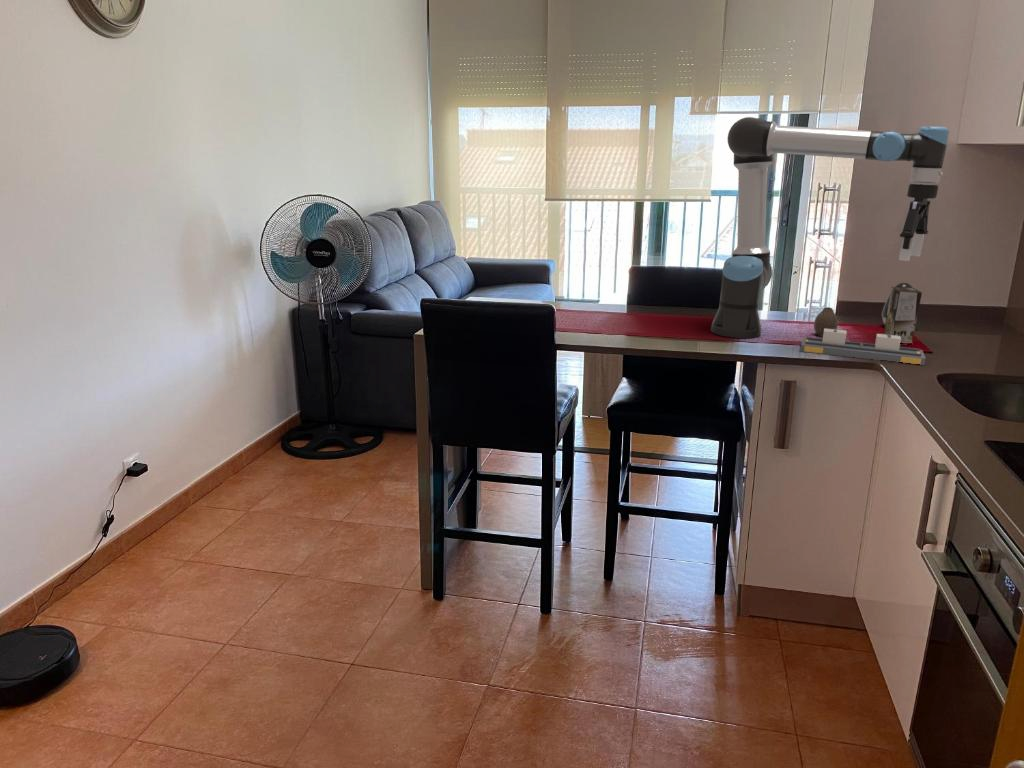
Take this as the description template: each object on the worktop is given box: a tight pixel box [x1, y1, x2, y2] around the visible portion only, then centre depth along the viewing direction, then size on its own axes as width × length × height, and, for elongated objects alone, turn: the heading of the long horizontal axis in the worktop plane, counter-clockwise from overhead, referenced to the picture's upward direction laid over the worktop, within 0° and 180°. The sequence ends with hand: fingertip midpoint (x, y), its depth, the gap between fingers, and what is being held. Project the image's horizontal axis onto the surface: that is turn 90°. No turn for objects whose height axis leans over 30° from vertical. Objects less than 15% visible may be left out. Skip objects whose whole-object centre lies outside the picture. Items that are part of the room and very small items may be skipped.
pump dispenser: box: [881, 281, 914, 325], centre depth 247 cm, size 10×10×15 cm
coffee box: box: [883, 286, 923, 344], centre depth 229 cm, size 9×6×16 cm
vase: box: [813, 306, 839, 337], centre depth 236 cm, size 7×7×9 cm
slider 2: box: [874, 333, 901, 351], centre depth 212 cm, size 6×4×4 cm, turn 67°
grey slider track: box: [800, 336, 927, 366], centre depth 215 cm, size 32×10×3 cm, turn 67°
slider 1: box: [822, 328, 847, 345], centre depth 217 cm, size 6×4×4 cm, turn 67°
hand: (909, 258), depth 221 cm, fingers open, 13 cm apart
